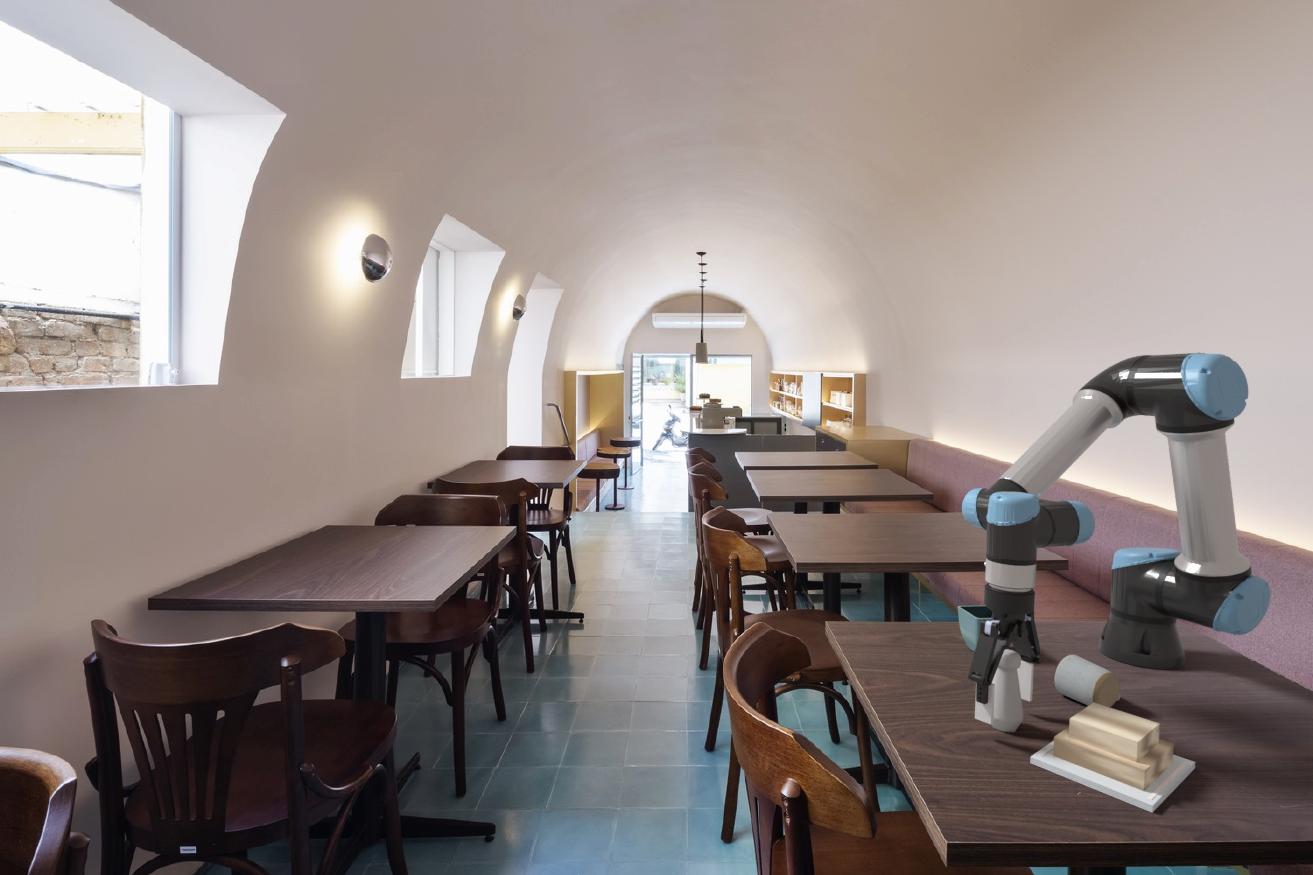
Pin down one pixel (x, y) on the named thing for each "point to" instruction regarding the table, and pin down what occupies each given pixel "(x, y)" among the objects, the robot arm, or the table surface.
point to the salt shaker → (1007, 693)
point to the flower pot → (972, 622)
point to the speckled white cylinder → (1086, 682)
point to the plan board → (1114, 788)
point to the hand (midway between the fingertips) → (1004, 709)
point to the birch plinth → (1115, 762)
